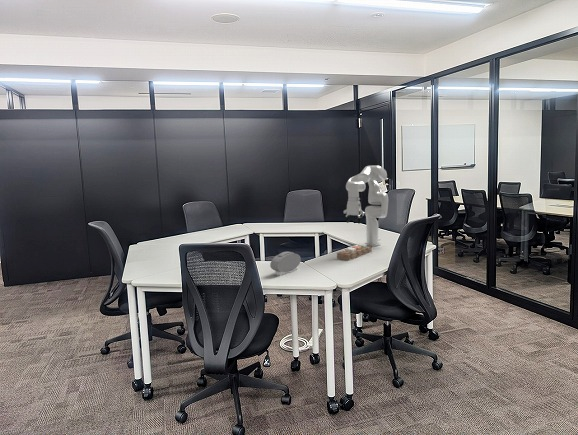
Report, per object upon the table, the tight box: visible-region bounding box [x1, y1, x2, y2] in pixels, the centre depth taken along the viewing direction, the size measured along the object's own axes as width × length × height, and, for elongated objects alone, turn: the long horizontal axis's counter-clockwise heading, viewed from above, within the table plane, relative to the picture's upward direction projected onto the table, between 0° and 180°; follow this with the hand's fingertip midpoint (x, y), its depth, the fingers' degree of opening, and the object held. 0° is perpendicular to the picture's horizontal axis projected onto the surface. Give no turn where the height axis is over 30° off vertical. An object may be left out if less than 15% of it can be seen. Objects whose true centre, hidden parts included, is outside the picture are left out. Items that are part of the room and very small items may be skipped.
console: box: [336, 246, 373, 261], centre depth 310 cm, size 32×10×4 cm, turn 141°
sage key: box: [357, 243, 367, 248], centre depth 318 cm, size 5×5×3 cm
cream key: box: [345, 247, 356, 252], centre depth 306 cm, size 5×5×3 cm
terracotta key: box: [351, 245, 362, 250], centre depth 312 cm, size 5×5×3 cm
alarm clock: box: [269, 251, 302, 276], centre depth 269 cm, size 23×6×13 cm, turn 141°
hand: (353, 222), depth 309 cm, fingers open, 9 cm apart
